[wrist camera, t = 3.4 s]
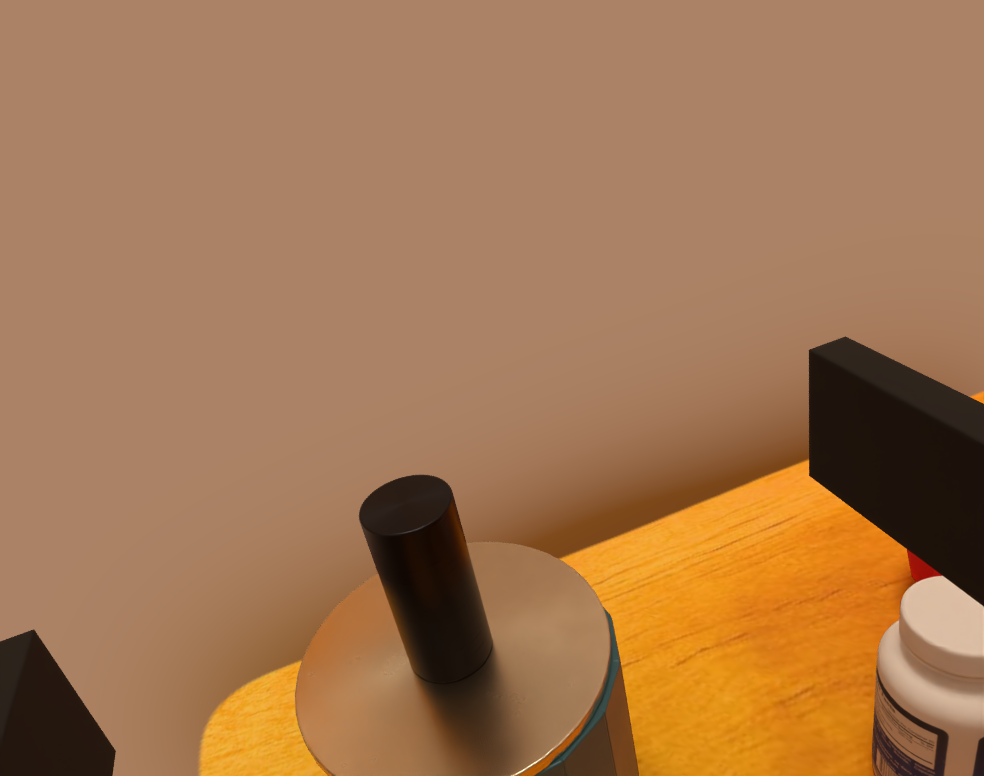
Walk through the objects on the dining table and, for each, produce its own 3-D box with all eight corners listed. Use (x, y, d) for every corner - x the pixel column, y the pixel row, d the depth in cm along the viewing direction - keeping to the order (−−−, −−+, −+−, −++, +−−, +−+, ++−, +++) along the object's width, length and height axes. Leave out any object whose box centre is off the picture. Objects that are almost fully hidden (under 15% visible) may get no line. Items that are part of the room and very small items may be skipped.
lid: (241, 781, 25) (147, 615, 22) (389, 550, 34) (340, 405, 31) (568, 863, 21) (519, 673, 17) (640, 574, 30) (618, 409, 26)
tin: (367, 951, 31) (265, 756, 25) (467, 731, 39) (407, 544, 33) (618, 1048, 27) (566, 840, 21) (673, 778, 35) (646, 574, 29)
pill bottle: (1002, 733, 34) (1032, 566, 29) (1032, 854, 30) (1074, 682, 25) (866, 714, 36) (874, 556, 31) (875, 826, 32) (887, 661, 27)
